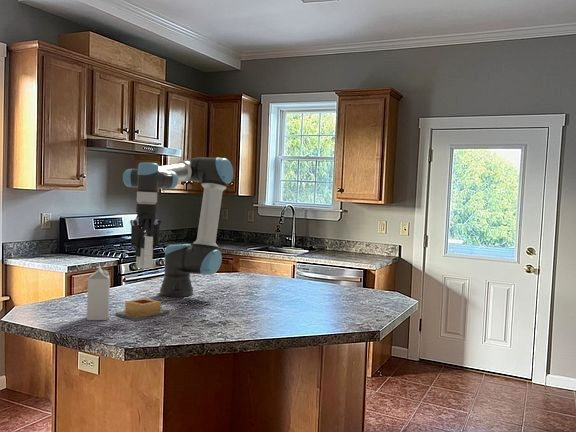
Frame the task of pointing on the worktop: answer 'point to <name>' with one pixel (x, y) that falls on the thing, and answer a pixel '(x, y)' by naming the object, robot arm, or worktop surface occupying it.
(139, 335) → the worktop surface
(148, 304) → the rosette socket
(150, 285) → the worktop surface
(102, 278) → the milk carton
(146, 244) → the white tall block
